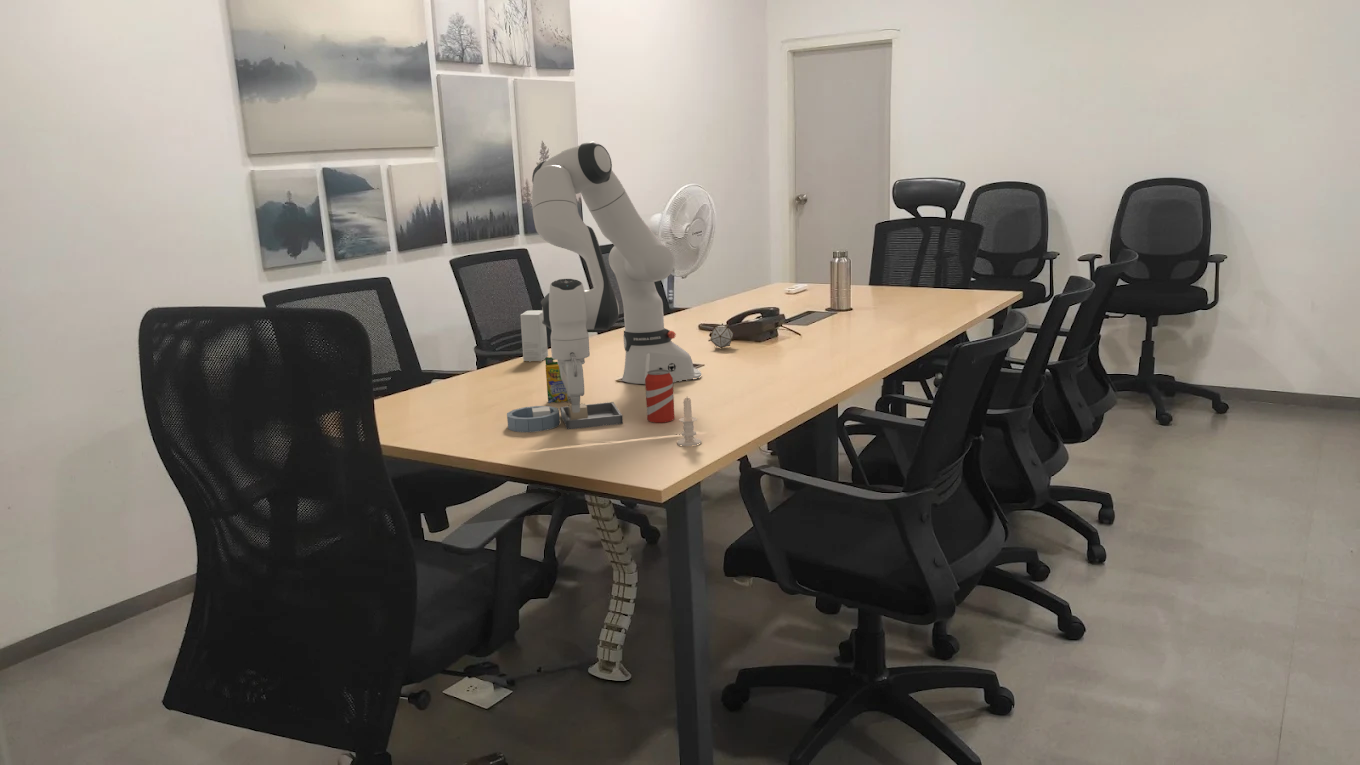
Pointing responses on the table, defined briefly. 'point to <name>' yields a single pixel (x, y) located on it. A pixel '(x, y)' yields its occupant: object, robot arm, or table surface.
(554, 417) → the bowl
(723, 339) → the game die
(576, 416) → the beige cube
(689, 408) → the candle
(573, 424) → the tray
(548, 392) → the crayon box
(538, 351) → the skincare box
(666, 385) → the beverage can
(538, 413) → the light grey cube
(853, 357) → the table surface
